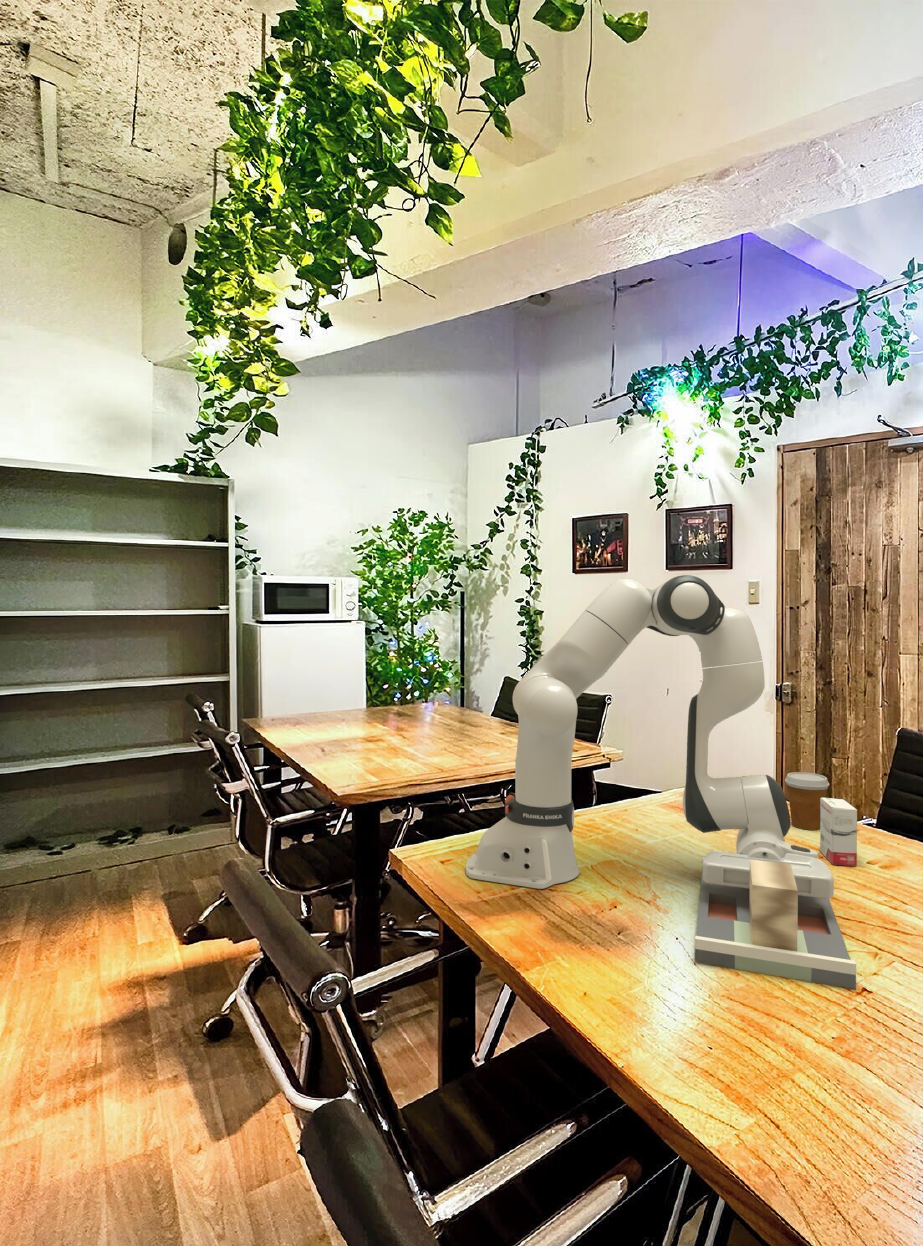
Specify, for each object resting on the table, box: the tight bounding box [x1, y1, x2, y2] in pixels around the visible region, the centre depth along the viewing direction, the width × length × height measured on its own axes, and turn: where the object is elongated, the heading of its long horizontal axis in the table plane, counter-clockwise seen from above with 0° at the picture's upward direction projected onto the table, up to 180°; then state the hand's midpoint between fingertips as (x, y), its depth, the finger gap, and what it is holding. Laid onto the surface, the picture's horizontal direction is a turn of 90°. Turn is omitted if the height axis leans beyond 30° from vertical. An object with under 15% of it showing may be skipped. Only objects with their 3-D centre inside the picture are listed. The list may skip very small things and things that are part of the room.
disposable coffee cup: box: [784, 771, 830, 831], centre depth 167 cm, size 10×10×12 cm
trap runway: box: [694, 864, 857, 990], centre depth 116 cm, size 21×36×4 cm, turn 159°
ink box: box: [819, 797, 858, 867], centre depth 146 cm, size 9×5×12 cm, turn 168°
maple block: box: [749, 859, 798, 952], centre depth 106 cm, size 6×11×10 cm, turn 159°
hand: (768, 891), depth 111 cm, fingers closed, pressing on maple block
